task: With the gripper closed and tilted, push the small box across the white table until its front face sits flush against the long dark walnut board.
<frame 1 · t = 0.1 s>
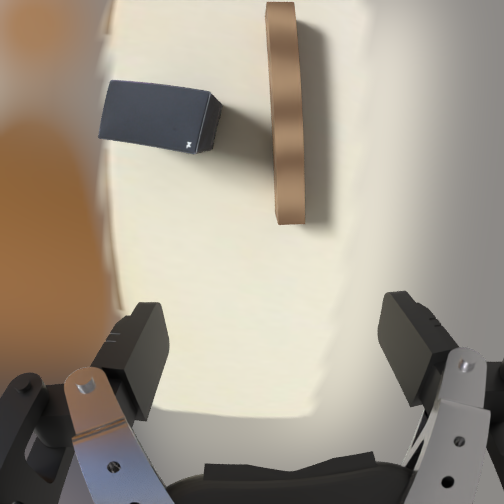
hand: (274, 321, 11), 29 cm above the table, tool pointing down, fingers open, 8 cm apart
walnut board: (283, 110, 34), on the table
small box: (177, 118, 35), on the table
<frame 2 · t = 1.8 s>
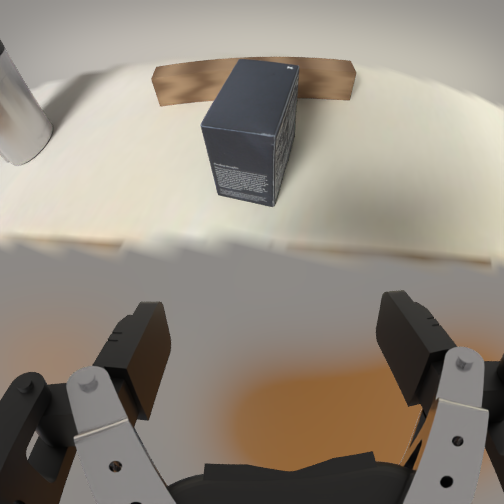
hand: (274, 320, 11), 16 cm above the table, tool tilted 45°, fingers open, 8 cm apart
walnut board: (254, 91, 38), on the table
small box: (257, 164, 33), on the table
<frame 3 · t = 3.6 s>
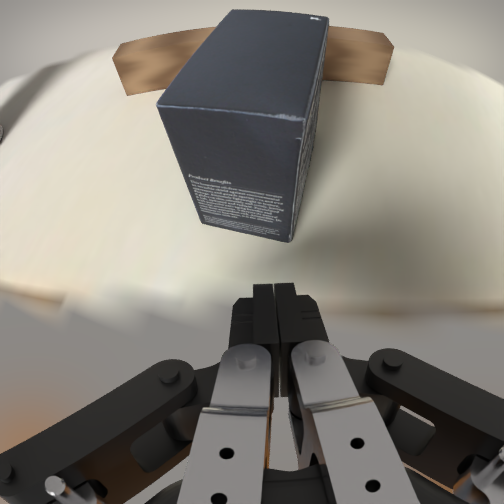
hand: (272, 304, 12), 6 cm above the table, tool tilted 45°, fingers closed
walnut board: (254, 71, 27), on the table
small box: (262, 172, 22), on the table
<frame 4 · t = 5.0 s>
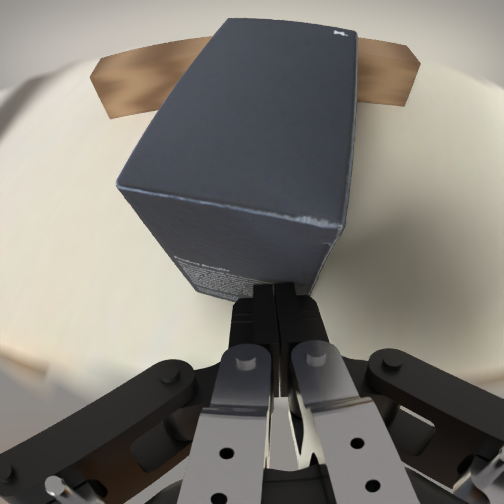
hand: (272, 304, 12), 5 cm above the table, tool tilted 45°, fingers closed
walnut board: (257, 89, 23), on the table
small box: (267, 223, 19), on the table, touching gripper
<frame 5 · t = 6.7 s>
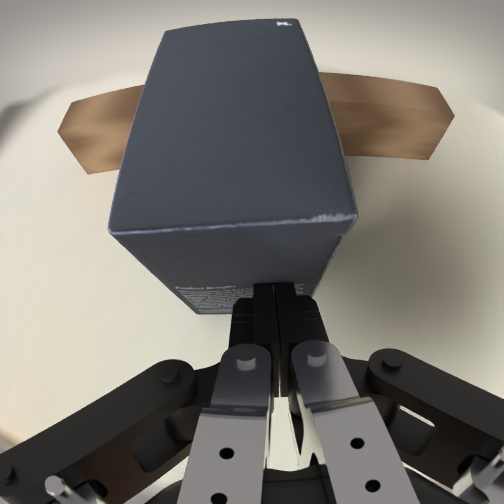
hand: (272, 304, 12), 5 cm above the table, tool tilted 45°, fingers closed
walnut board: (258, 140, 21), on the table
small box: (245, 227, 18), on the table, touching gripper, walnut board
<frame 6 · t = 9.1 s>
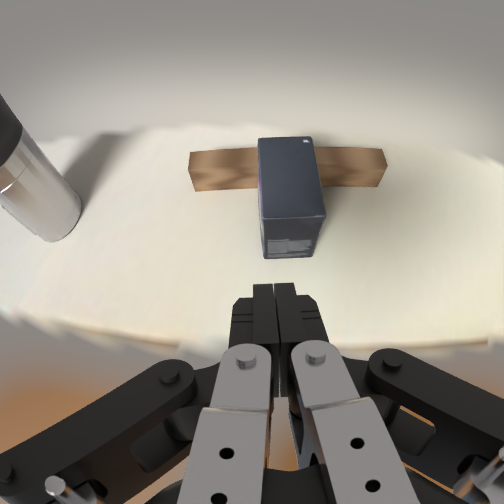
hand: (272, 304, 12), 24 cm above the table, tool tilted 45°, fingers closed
walnut board: (288, 178, 42), on the table
small box: (284, 221, 40), on the table
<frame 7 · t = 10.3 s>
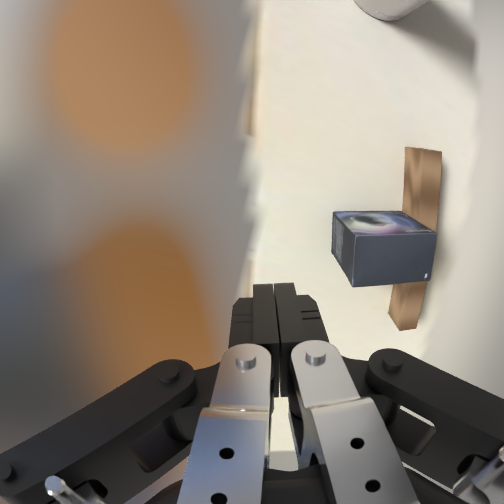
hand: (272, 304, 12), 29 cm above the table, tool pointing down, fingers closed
walnut board: (408, 236, 41), on the table
small box: (366, 230, 41), on the table
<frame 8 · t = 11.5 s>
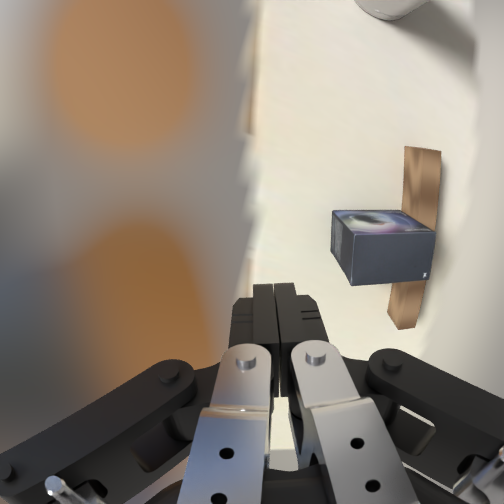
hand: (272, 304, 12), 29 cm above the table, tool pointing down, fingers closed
walnut board: (407, 236, 41), on the table
small box: (366, 229, 41), on the table
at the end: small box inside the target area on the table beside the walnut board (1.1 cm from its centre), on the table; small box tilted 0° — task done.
